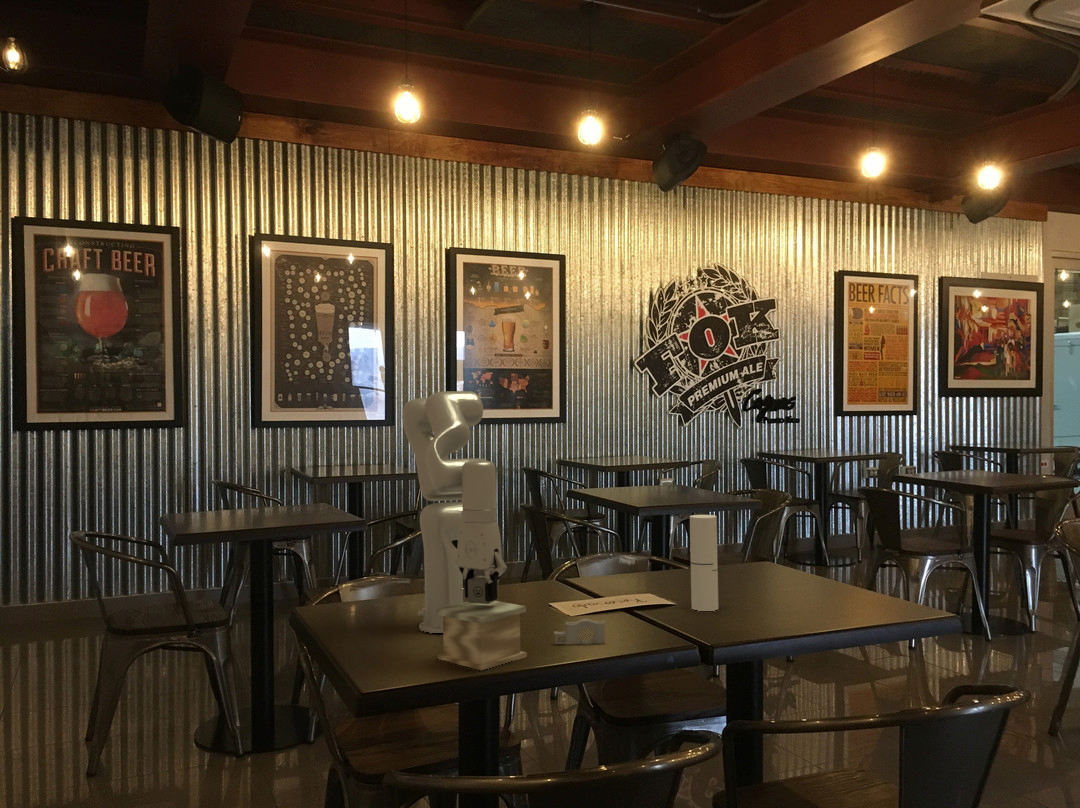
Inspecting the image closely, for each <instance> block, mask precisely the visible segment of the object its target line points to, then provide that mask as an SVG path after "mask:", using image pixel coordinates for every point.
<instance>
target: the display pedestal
mask: <svg viewBox="0 0 1080 808" xmlns="http://www.w3.org/2000/svg"><path fill="white" fill-rule="evenodd" d="M526 612H527V606H526V605H520V604H515V603H510V602H505V601H499V600H496V601H494V602H492V603H490V604H480V603H468V601H465V602H464V601H463V603H460V604H455V605H451V606H447V607H443V608H439V609H436V614H437V615H441V616H443V634H442V637H443V639H442V640H443V642H442V643H443V648H442V649H443V653H440V654H437V656H436V658H438V659H441V660H446V661H449V662H453V663H456V664H459V665H463V666H467V667H471V668H474V669H478V670H481V671H482V670H485V669H488V670H490V669H489V668H491V669H493V668H492V667H494V668H496V667H495V666H497V667H499V666H498V665H500V666H502V665H501V664H503V665H506V664H505V663H507V664H509V663H508V662H510V663H512V662H511V661H513V662H516V661H518V660H521V659H525V658H528V653H527V652H526V651H522V650H521V614H524V613H526ZM515 660H516V661H515ZM459 665H458V666H459ZM474 669H473V670H474ZM478 670H477V671H478ZM481 671H480V672H481ZM485 671H486V670H485ZM482 672H483V671H482Z"/></svg>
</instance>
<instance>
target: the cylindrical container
mask: <svg viewBox="0 0 1080 808" xmlns="http://www.w3.org/2000/svg"><path fill="white" fill-rule="evenodd" d="M717 525H718V519H717V515H713V514H693V515H690V516H689V535H690V536H689V540H690V541H689V543H690V544H689V545H690V546H689V547H690V551H689V552H690V587H691V588H690V589H691V590H690V593H691V596H690V597H691V598H690V599H691V610H692V609H694V610H698V611H697V612H699V611H714V612H716V611H715V610H717V609H718V610H719V573H718V572H719V570H718V566H719V565H718V526H717ZM694 610H693V611H694ZM718 610H717V611H718Z"/></svg>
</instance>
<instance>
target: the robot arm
mask: <svg viewBox="0 0 1080 808" xmlns="http://www.w3.org/2000/svg"><path fill="white" fill-rule="evenodd" d="M483 416H484V404H483V401H482V399H481V397H480V396H479V394H478V393H476V392H474V391H471V390H468V391H467V390H462V391H458V390H456V391H455V390H453V391H452V390H449V391H448V390H446V391H437V392H434V393H432V394H430V395H429V396H428V397H418V398H414V399H410V400H408V401H407V402H406V403H405V404H404V406H403V408H402V416H401V417H402V425H403V430H404V433H405V436H406V439H407V441H408V443H409V445H410V447H411V449H412V451H413V455H414V458H415V463H416V469H417V477H418V482H419V488H420V491H421V495H422V496H423V498H424V499H425V500H426V501H430V502H435V503H431V504H428V505H426V506H425V507H423V509H421V512H420V515H419V527H420V531H421V536H422V537H421V538H422V544H423V545H422V546H423V560H424V561H423V562H424V568H423V569H424V607H422V609H421V610H418V611H417V615H418V616H419V617H422V618H423V619H422V620H423V621H422V622H421V623H419V626H418V627H419V628H418V629H419V630H420V631H421V632H423V631H424V632H423V633H426V632H429V633H428V634H432V633H443V616H441V615H437V614H436V609H439V608H443V607H447V606H451V605H455V604H460V603H464V598H466V599H468V580H469V579H471V578H473V577H476V574H477V573H476V572H477V571H484V576H486V579H487V582H488V583H485V600H486V601H487V602H489V601H493V600H496V601H498V600H497V598H498V599H499V595H498V596H497V582H498V583H499V581H500V578H501V577H503V574H505V572H506V570H507V569H508V566H507V565H506V563H505V562H504V559H503V558H502V557H503V555H502V552H503V551H502V540H501V533H500V527H499V523H497V515H498V514H497V478H496V477H497V476H496V475H497V474H496V465H495V463H494V462H493V461H490V460H487V459H484V458H478V457H476V458H449V455H452V454H453V453H455V452H457V451H459V450H461V449H463V447H465V446H466V445H467V444H468V442H469V441H470V437H471V430H470V428H471V427H474V426H477V425H478V424H479V423H480V422H481V420H482V419H483ZM453 541H457V548H456V546H455V545H454V544H453ZM491 573H492V574H491ZM463 580H464V581H463ZM463 582H464V584H463ZM463 585H464V587H463ZM463 589H464V590H463Z"/></svg>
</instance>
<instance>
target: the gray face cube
mask: <svg viewBox="0 0 1080 808" xmlns="http://www.w3.org/2000/svg"><path fill="white" fill-rule="evenodd" d="M485 583H488V582H487V579H486V576H485V575H475V577H473V578H471V579H469V580H468V598H467V602H468V603H480V604H490V603H492V602H494V601H499V581H498V582H497V596H498V598H497V600H493V601H489V602H487V601H486V600H485Z"/></svg>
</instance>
